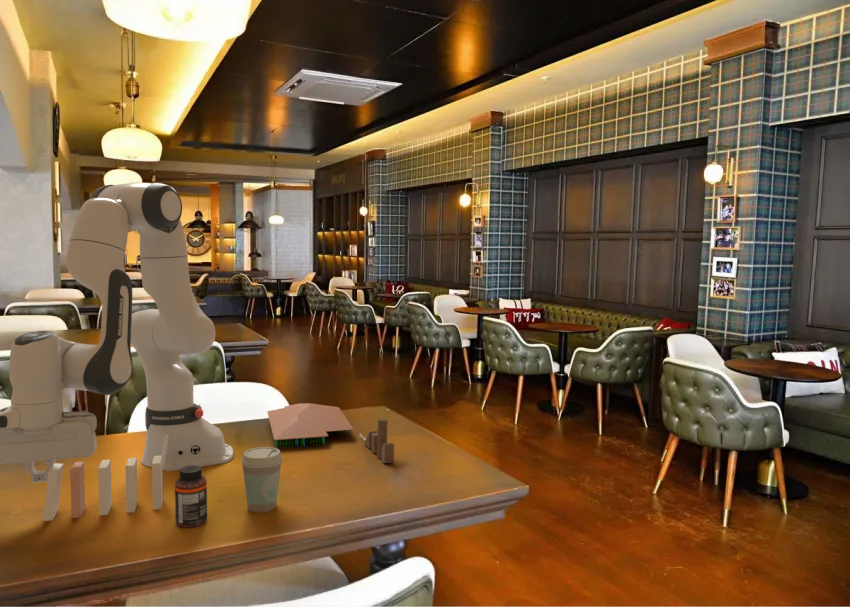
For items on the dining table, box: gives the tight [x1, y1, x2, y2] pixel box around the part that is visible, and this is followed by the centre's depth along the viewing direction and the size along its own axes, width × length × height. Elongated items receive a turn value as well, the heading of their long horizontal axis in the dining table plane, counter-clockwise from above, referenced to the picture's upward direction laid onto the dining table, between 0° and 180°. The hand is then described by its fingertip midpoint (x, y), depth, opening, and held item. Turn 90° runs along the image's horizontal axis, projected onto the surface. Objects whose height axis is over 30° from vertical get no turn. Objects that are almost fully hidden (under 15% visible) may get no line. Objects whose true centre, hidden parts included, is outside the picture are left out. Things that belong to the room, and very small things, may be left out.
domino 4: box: [151, 455, 164, 511], centre depth 132 cm, size 2×5×10 cm, turn 19°
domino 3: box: [125, 457, 138, 514], centre depth 130 cm, size 2×5×10 cm, turn 19°
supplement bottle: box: [174, 465, 208, 529], centre depth 124 cm, size 6×6×11 cm
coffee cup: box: [240, 446, 284, 513], centre depth 132 cm, size 8×8×12 cm
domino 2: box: [97, 459, 113, 516], centre depth 129 cm, size 2×5×10 cm, turn 19°
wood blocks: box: [359, 418, 395, 465], centre depth 172 cm, size 25×3×10 cm, turn 24°
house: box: [266, 402, 355, 450], centre depth 189 cm, size 23×33×8 cm
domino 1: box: [69, 461, 86, 519], centre depth 127 cm, size 2×5×10 cm, turn 19°
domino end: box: [42, 462, 64, 522], centre depth 126 cm, size 2×5×10 cm, turn 19°
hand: (40, 481), depth 125 cm, fingers closed
